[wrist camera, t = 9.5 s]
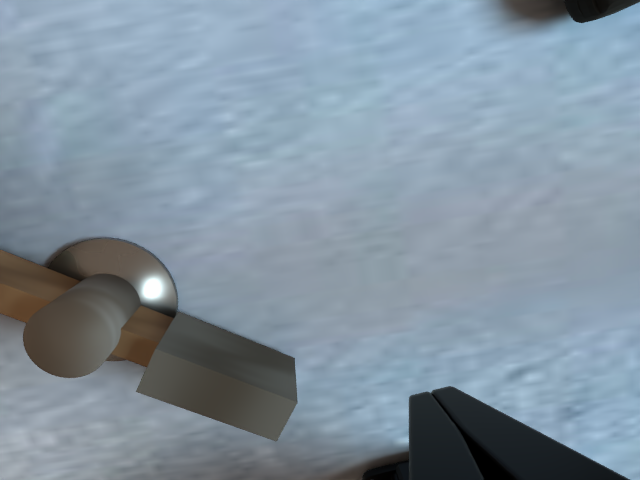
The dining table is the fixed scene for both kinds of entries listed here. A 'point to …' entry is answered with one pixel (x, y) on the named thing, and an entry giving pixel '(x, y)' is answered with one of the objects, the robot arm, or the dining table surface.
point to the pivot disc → (122, 271)
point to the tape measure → (595, 8)
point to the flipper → (147, 346)
